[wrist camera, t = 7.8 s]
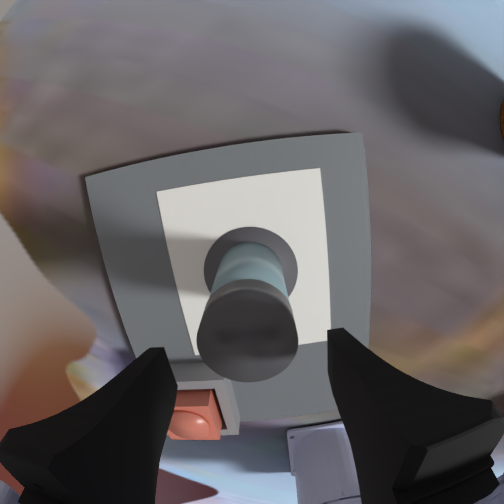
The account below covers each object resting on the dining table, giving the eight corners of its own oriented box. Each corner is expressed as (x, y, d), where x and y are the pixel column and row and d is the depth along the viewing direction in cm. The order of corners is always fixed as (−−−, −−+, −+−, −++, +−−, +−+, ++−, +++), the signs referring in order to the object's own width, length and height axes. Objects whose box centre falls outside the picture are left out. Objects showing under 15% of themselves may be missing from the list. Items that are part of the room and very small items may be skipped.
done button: (222, 417, 22) (219, 442, 20) (176, 418, 23) (170, 442, 20) (212, 383, 21) (207, 409, 19) (162, 385, 21) (153, 409, 19)
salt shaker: (285, 297, 20) (301, 376, 12) (223, 304, 20) (208, 385, 13) (278, 236, 19) (294, 293, 11) (212, 245, 19) (185, 306, 11)
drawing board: (359, 395, 25) (368, 421, 21) (167, 414, 26) (159, 439, 22) (356, 133, 18) (375, 130, 15) (93, 175, 19) (67, 180, 16)
